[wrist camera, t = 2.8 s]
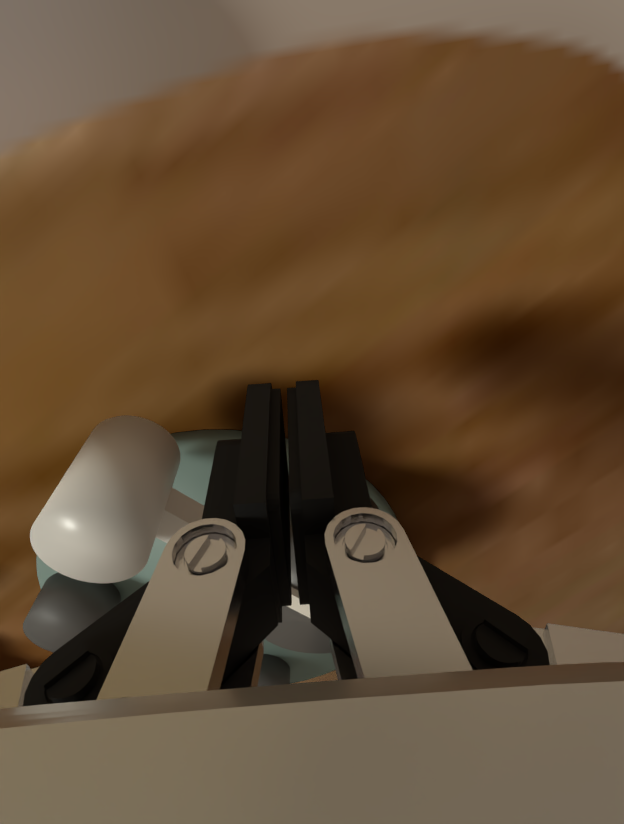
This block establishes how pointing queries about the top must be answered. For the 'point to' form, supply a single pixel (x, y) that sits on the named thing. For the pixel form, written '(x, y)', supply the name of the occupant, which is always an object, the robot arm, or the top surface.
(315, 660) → the instrument base
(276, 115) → the top surface
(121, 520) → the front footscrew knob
